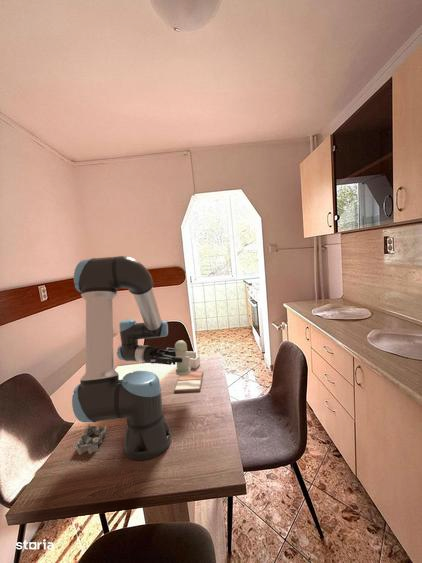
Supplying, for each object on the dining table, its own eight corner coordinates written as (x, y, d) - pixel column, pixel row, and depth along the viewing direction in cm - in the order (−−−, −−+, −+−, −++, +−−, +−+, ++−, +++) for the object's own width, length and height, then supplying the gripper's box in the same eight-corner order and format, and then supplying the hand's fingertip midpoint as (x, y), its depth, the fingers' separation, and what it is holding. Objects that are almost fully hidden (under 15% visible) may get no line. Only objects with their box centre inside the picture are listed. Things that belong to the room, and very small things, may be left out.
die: (196, 368, 143) (195, 359, 142) (188, 367, 145) (187, 358, 144) (200, 364, 148) (199, 355, 147) (192, 363, 149) (191, 355, 149)
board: (200, 391, 118) (200, 388, 117) (174, 392, 118) (173, 390, 118) (203, 373, 135) (203, 371, 135) (180, 375, 136) (180, 372, 136)
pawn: (181, 377, 109) (178, 344, 107) (173, 373, 113) (169, 341, 112) (193, 371, 113) (190, 339, 112) (184, 368, 118) (181, 337, 116)
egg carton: (90, 433, 95) (88, 423, 94) (110, 433, 94) (108, 422, 94) (72, 455, 84) (71, 443, 84) (95, 455, 83) (93, 443, 83)
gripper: (159, 354, 128) (202, 358, 119) (135, 370, 112) (183, 375, 102) (158, 339, 127) (200, 342, 118) (133, 353, 111) (181, 357, 102)
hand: (192, 357), depth 110 cm, fingers closed on pawn, 5 cm apart
